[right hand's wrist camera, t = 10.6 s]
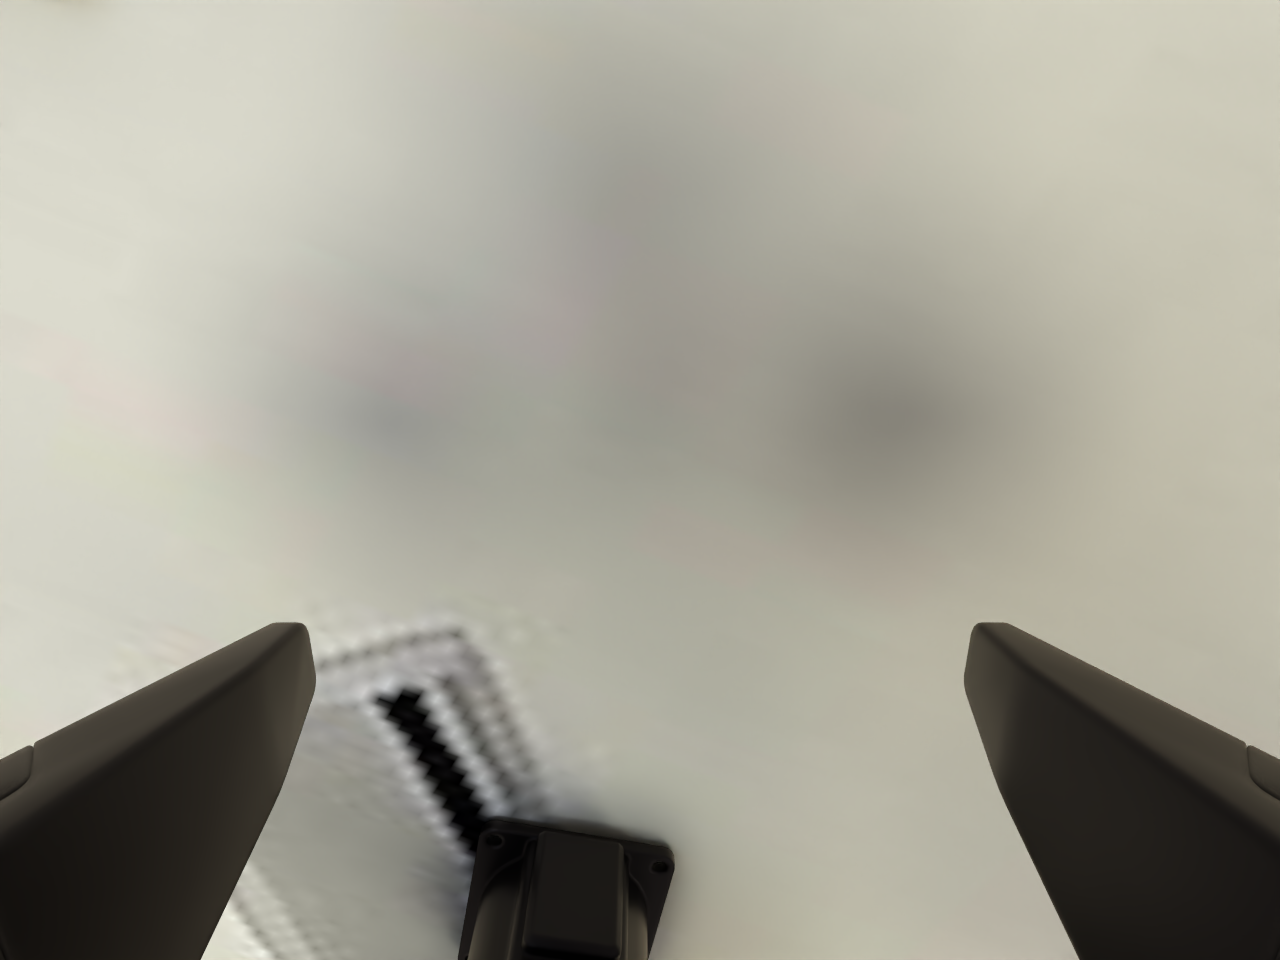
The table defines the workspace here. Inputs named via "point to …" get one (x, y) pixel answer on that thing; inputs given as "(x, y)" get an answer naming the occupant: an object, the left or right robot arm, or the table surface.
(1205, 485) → the table surface
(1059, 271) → the table surface
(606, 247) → the table surface
